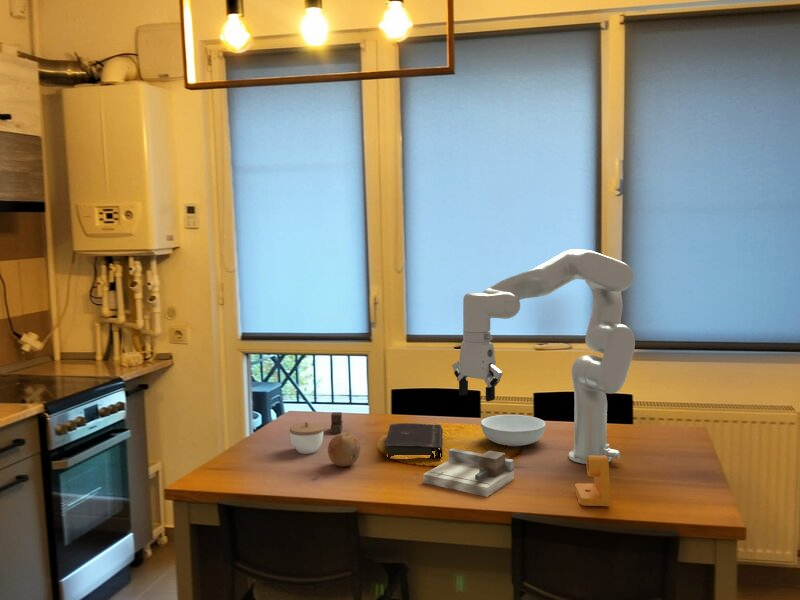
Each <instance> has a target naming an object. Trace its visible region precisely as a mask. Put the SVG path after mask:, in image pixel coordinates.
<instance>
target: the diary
mask: <svg viewBox="0 0 800 600" xmlns="http://www.w3.org/2000/svg"><path fill="white" fill-rule="evenodd" d="M443 432H444V431H443V427H442V425H441V424H437V423H435V424H432V423H430V424H428V423H413V422H411V423H410V422H409V423H407V422H405V423H390V424H389V428H388V432H387V435H386V437H385V442H384V447H387V446H388V449H387V448H386V452H387V453H388V457H387V456H386V455H385V456H384V460H385V461H386V460H387V461H388V460H391V459H390V457H391V456H394V455H433V454H432V451H435V455H438V456H439V451H440V450H441V457H442V458H443V442H444V440H443ZM438 448H440V450H438Z"/></svg>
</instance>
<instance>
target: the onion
mask: <svg viewBox="0 0 800 600" xmlns="http://www.w3.org/2000/svg"><path fill="white" fill-rule="evenodd" d="M327 454H328V458H329V460H330V461H331V463H333V464H334V465H335V466H337V467H340V468H344V467H349V466H352V465H353V464H355V463H356V462H357V460H358V459H359V457H360V454H361V445H360V442H359V440H358V439H357V437H355V436H354V435H353V434H352V433H350V432H348V431H347V432H341V433H340V434H335V436H333V437H332V438H331V440H330V441H329V443H328V446H327Z"/></svg>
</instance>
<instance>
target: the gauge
mask: <svg viewBox="0 0 800 600" xmlns="http://www.w3.org/2000/svg"><path fill="white" fill-rule="evenodd" d="M481 454H482V455H481V456H479V473H478V474H476V475H475V479H476V480H477V481H480V479H482V478H483V477H485V476H486V475H488V476H493V477H496V476H498V475H500V474H501V473H503V472H504V471H505V458H506V453H505V452H500V451H496V450H495V451H494V450H488V451H485V452H484V453H481Z"/></svg>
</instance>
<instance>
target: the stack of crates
mask: <svg viewBox="0 0 800 600" xmlns="http://www.w3.org/2000/svg"><path fill="white" fill-rule="evenodd" d="M342 413H343V412H339V411H338V412H337V411H336V412H331V414H330V415H331V416H330V417H331V420H330V421H331V422H330V423H331V425H330V435H338V434H340V433H343V432H342V431H343V426H344V425H343V419H342V418H343V414H342Z"/></svg>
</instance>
